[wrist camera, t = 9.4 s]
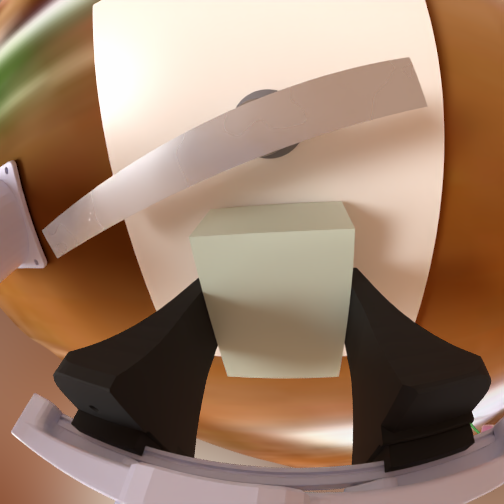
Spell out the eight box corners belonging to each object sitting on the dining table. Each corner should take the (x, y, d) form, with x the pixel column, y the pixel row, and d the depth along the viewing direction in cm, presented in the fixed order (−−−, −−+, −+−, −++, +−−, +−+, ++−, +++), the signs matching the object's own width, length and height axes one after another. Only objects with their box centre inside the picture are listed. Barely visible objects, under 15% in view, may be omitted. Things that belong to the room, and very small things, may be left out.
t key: (379, 111, 8) (430, 115, 5) (114, 219, 12) (60, 263, 8) (363, 70, 7) (405, 48, 4) (98, 190, 11) (39, 225, 8)
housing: (178, 341, 17) (173, 353, 16) (104, 8, 7) (91, 4, 7) (401, 338, 14) (405, 351, 13) (403, -31, 5) (411, -40, 4)
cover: (237, 338, 14) (227, 376, 12) (210, 209, 11) (188, 237, 8) (334, 337, 13) (338, 376, 11) (341, 201, 10) (355, 228, 8)
